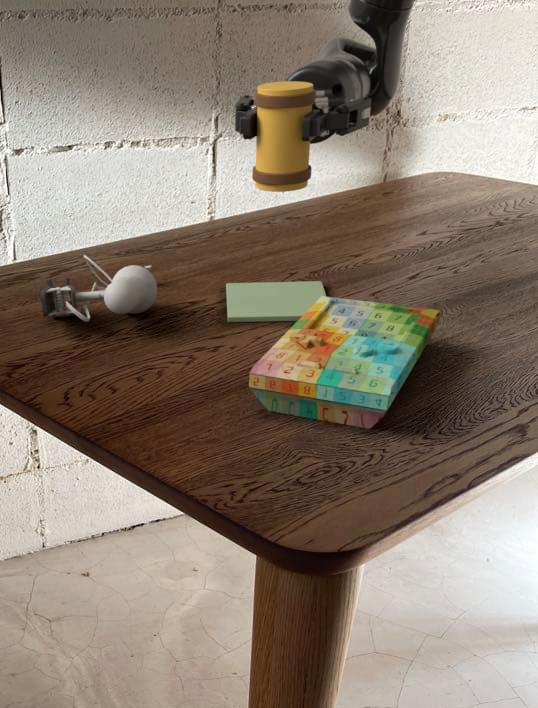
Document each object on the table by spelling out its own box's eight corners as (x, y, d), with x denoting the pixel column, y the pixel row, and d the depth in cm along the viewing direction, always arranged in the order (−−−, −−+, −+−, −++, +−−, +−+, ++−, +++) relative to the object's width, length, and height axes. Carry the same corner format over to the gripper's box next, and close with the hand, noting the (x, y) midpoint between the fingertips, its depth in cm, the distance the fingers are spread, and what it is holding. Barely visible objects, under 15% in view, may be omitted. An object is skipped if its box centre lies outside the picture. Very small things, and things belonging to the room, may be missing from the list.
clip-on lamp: (78, 309, 107) (34, 331, 91) (71, 255, 105) (25, 267, 88) (172, 301, 104) (145, 322, 88) (168, 245, 102) (138, 257, 86)
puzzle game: (249, 363, 72) (321, 287, 87) (247, 414, 75) (318, 332, 89) (390, 385, 68) (442, 301, 82) (383, 438, 70) (435, 348, 85)
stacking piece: (320, 181, 88) (327, 82, 83) (292, 195, 84) (297, 91, 79) (270, 176, 91) (274, 79, 86) (241, 188, 87) (243, 88, 82)
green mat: (321, 286, 101) (321, 280, 101) (332, 320, 92) (332, 315, 92) (226, 288, 102) (226, 283, 102) (227, 322, 93) (227, 317, 93)
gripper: (259, 59, 95) (204, 83, 83) (392, 59, 90) (356, 85, 78) (257, 134, 100) (205, 167, 87) (384, 138, 94) (348, 174, 82)
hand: (276, 128), depth 82 cm, fingers closed on stacking piece, 5 cm apart
